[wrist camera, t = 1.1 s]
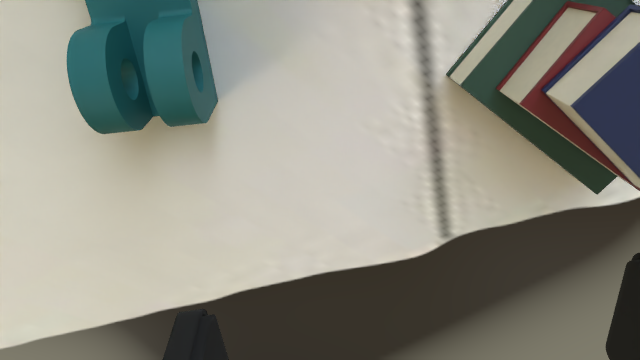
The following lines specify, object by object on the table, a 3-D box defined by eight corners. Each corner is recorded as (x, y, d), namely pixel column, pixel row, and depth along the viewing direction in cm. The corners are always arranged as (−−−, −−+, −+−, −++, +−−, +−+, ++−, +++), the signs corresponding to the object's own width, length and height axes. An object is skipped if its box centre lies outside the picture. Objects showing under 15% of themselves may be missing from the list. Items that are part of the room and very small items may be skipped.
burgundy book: (566, 0, 30) (604, 7, 26) (683, 100, 33) (729, 118, 30) (495, 88, 32) (521, 105, 28) (611, 171, 36) (646, 195, 32)
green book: (551, -53, 31) (580, -54, 28) (678, 76, 36) (714, 88, 33) (445, 74, 35) (460, 86, 32) (573, 176, 40) (597, 194, 37)
